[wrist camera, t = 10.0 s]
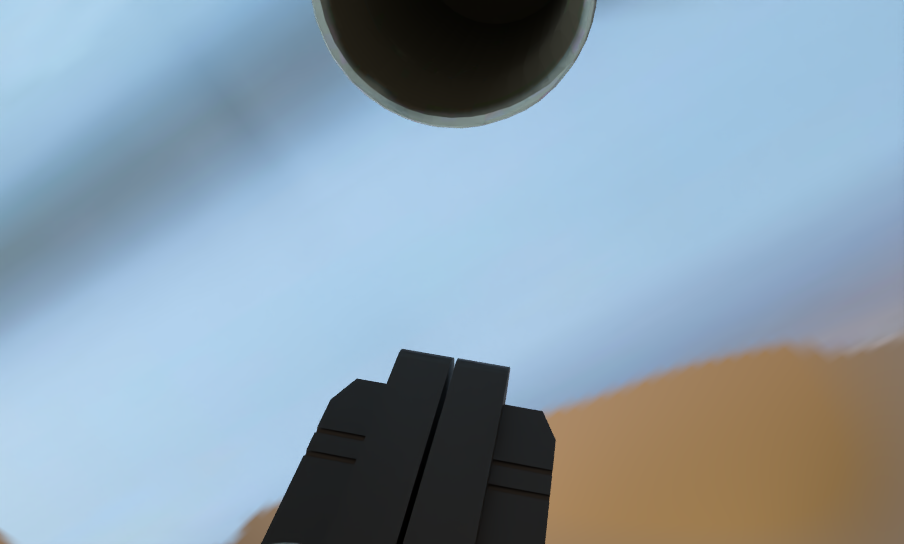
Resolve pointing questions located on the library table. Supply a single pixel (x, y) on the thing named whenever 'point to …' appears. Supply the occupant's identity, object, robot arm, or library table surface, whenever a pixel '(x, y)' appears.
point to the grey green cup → (455, 53)
